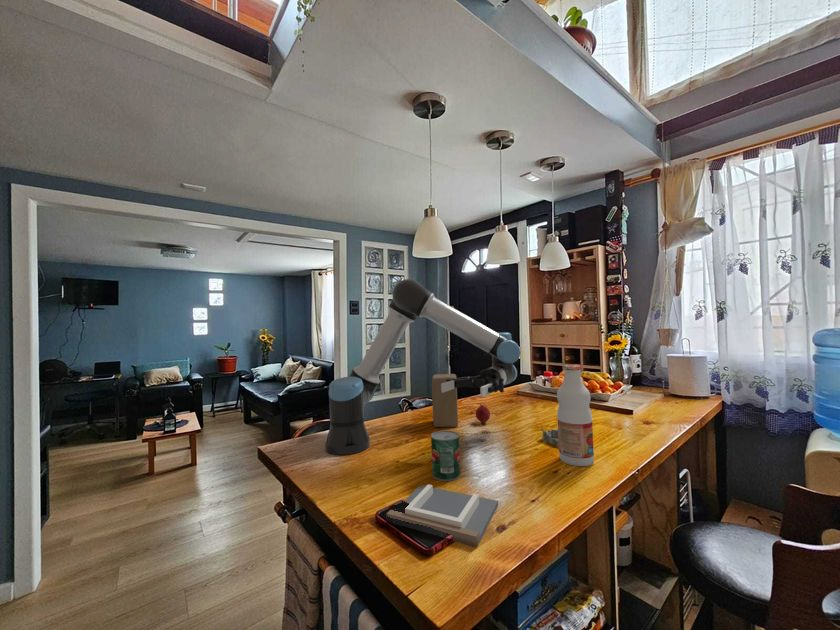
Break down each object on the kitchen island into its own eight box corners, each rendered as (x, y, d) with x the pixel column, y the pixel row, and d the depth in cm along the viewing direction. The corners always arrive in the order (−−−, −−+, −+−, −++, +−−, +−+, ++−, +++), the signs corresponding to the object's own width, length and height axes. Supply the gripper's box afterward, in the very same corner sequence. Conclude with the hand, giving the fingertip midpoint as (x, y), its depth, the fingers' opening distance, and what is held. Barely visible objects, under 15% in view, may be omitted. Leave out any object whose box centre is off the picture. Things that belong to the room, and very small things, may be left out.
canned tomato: (427, 472, 97) (425, 433, 97) (450, 466, 100) (449, 428, 101) (441, 484, 90) (439, 441, 90) (466, 476, 93) (464, 436, 94)
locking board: (386, 522, 73) (386, 508, 73) (420, 488, 88) (420, 477, 88) (477, 547, 64) (476, 531, 64) (498, 505, 79) (497, 492, 79)
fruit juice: (555, 453, 107) (551, 363, 107) (588, 454, 105) (583, 363, 106) (563, 466, 97) (559, 368, 98) (599, 467, 96) (594, 367, 96)
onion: (490, 421, 143) (490, 402, 143) (489, 425, 137) (489, 405, 137) (476, 420, 144) (476, 401, 144) (475, 425, 139) (474, 405, 139)
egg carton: (539, 439, 120) (538, 428, 120) (556, 436, 123) (556, 425, 123) (560, 450, 110) (560, 437, 110) (579, 446, 112) (578, 434, 113)
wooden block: (458, 420, 146) (456, 373, 146) (458, 427, 136) (456, 377, 137) (434, 420, 147) (432, 374, 147) (433, 427, 137) (431, 377, 138)
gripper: (527, 392, 113) (500, 407, 96) (461, 386, 128) (428, 398, 111) (526, 369, 113) (499, 380, 96) (460, 366, 128) (427, 375, 111)
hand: (461, 390), depth 103 cm, fingers open, 13 cm apart
